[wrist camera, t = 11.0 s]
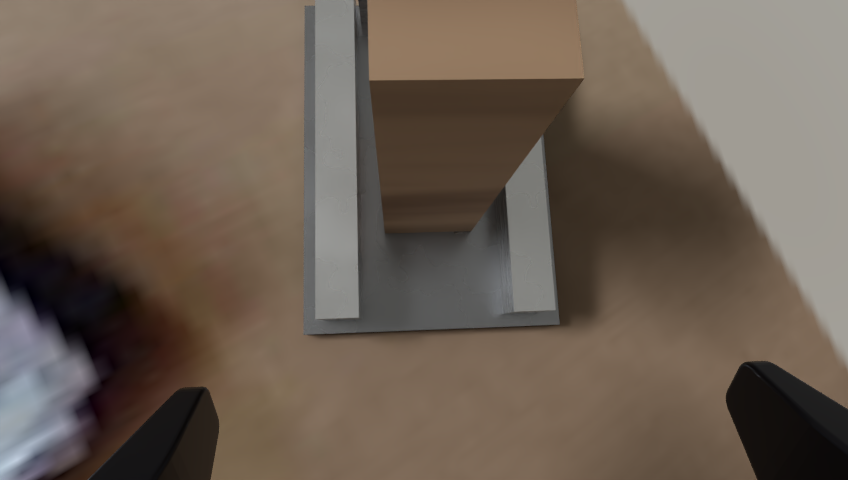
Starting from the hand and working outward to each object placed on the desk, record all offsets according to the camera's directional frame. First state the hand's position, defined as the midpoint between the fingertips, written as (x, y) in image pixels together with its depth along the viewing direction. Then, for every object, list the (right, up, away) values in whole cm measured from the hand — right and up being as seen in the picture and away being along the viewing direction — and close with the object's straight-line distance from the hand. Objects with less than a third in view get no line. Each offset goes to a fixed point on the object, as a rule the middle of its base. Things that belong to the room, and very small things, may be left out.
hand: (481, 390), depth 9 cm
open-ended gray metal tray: (-1, +6, +13) cm, 14 cm away
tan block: (-1, +6, +12) cm, 14 cm away
